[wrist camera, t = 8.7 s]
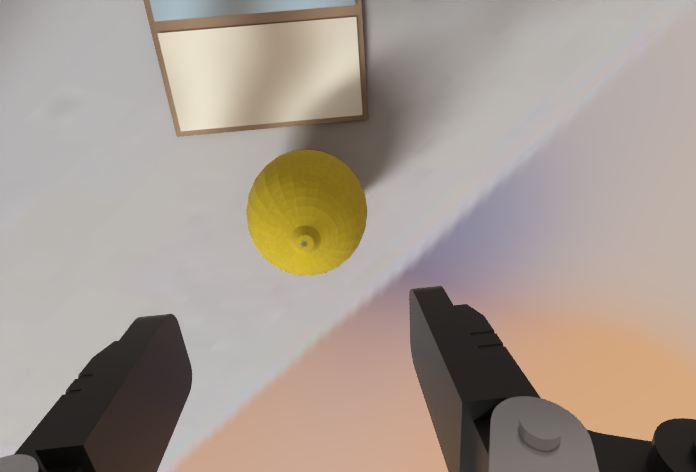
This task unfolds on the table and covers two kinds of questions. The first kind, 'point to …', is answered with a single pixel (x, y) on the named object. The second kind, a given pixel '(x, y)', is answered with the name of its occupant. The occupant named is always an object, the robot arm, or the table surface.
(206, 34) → the board
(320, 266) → the lemon
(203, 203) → the table surface
